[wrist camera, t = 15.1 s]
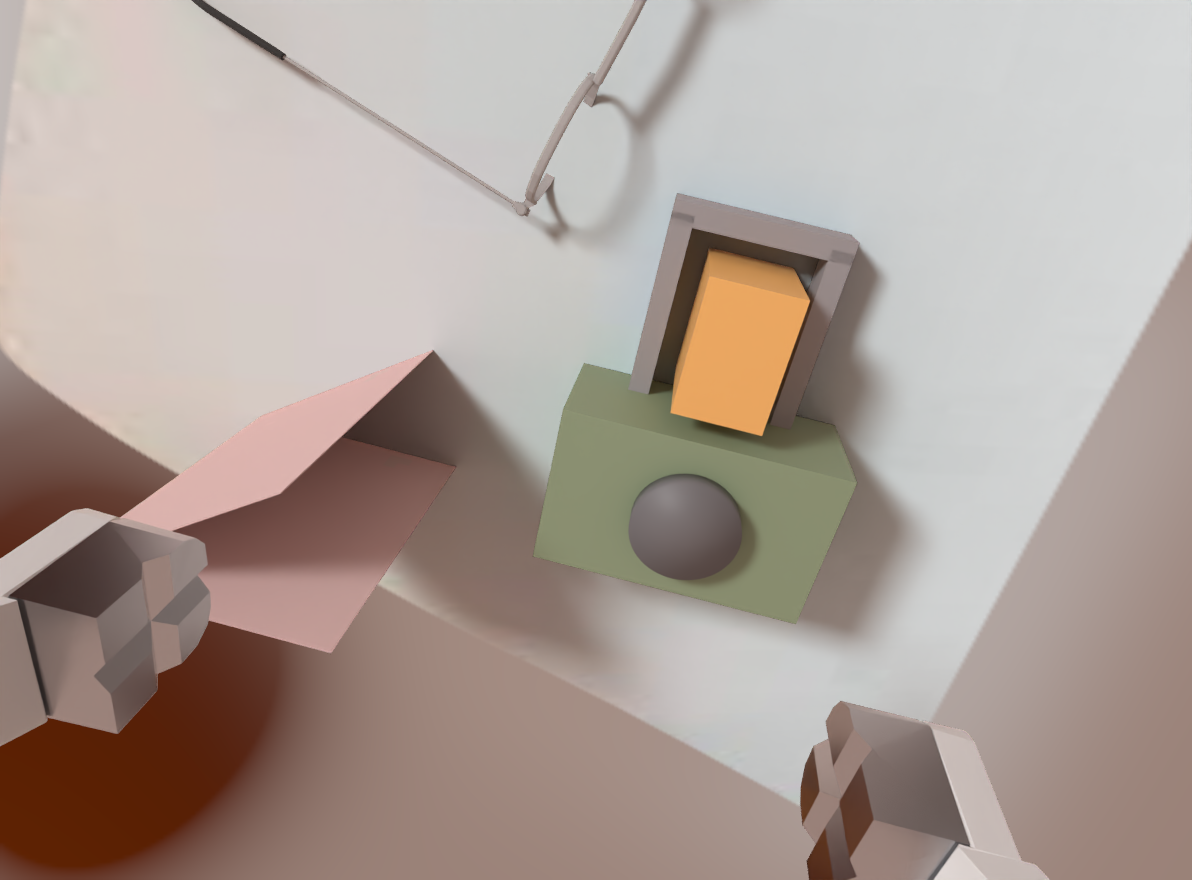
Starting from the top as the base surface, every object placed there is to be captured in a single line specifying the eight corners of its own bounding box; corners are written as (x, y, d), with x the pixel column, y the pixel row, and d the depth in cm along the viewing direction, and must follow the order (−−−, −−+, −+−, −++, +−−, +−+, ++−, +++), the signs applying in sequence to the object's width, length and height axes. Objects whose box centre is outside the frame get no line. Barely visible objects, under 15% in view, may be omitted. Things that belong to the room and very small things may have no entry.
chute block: (709, 247, 33) (709, 276, 28) (793, 267, 33) (810, 300, 28) (675, 365, 36) (670, 412, 31) (753, 385, 36) (762, 435, 30)
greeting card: (261, 429, 41) (45, 592, 28) (261, 305, 38) (15, 422, 24) (454, 480, 41) (330, 670, 27) (471, 359, 37) (340, 508, 24)
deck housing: (623, 180, 32) (603, 200, 26) (906, 247, 32) (954, 285, 26) (555, 494, 40) (528, 568, 34) (783, 552, 40) (798, 638, 33)
